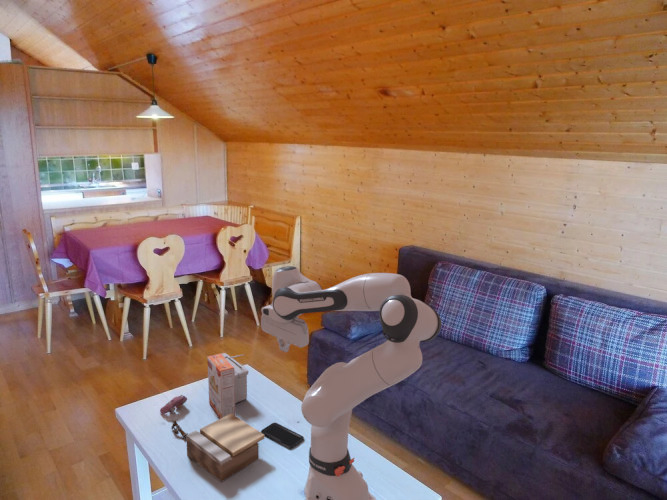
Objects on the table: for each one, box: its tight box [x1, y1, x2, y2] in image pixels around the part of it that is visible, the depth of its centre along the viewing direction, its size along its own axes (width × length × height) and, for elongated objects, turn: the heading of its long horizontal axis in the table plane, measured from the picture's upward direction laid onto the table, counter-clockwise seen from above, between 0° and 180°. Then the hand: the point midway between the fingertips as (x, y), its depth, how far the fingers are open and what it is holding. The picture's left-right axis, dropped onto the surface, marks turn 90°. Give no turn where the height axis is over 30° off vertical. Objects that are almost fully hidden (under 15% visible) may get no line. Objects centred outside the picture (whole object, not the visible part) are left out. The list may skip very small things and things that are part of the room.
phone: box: [260, 422, 305, 450], centre depth 174 cm, size 8×1×15 cm
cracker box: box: [206, 352, 236, 419], centre depth 186 cm, size 14×6×21 cm, turn 33°
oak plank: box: [199, 414, 265, 457], centre depth 164 cm, size 18×13×2 cm
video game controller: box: [159, 394, 188, 415], centre depth 187 cm, size 10×5×7 cm, turn 149°
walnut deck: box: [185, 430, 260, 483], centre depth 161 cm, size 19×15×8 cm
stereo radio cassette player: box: [221, 352, 249, 404], centre depth 200 cm, size 21×8×20 cm, turn 40°
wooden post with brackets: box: [171, 419, 189, 439], centre depth 174 cm, size 2×8×4 cm, turn 53°
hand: (284, 350), depth 167 cm, fingers closed
